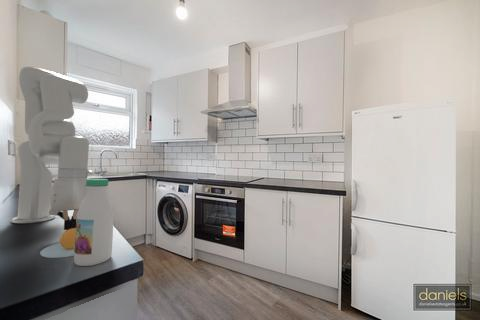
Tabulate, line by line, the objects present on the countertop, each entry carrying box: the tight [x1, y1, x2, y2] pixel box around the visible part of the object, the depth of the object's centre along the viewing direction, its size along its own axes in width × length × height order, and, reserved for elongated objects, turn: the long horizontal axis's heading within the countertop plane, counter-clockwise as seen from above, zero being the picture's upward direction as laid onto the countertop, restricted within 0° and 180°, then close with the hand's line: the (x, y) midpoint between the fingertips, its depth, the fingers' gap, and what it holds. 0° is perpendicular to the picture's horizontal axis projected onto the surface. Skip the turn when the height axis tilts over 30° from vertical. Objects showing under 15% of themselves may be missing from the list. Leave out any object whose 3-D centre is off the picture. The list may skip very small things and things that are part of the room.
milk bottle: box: [73, 178, 114, 267], centre depth 53 cm, size 8×8×20 cm
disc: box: [39, 242, 75, 259], centre depth 59 cm, size 13×13×1 cm
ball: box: [59, 228, 76, 249], centre depth 59 cm, size 6×6×6 cm
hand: (69, 231), depth 69 cm, fingers closed
